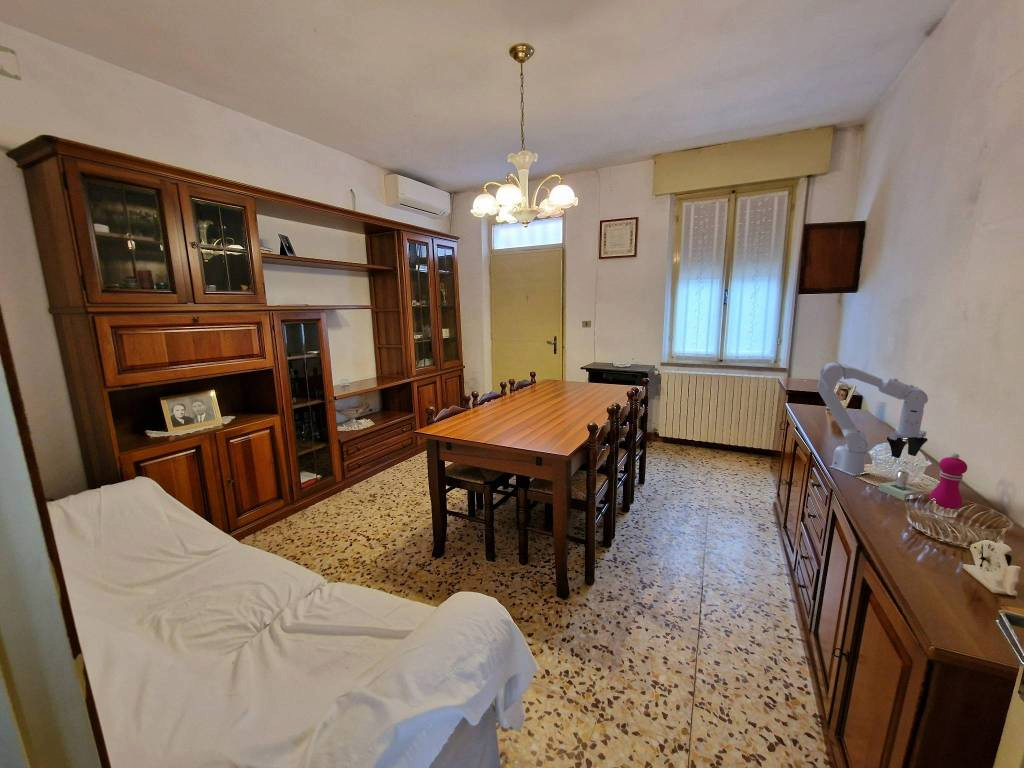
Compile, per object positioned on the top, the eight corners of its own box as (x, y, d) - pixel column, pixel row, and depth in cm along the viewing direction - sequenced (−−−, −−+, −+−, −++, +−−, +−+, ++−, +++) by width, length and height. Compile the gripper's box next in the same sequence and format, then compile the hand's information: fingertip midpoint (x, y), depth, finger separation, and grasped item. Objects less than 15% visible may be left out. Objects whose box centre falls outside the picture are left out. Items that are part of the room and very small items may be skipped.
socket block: (878, 490, 147) (879, 483, 146) (895, 487, 148) (896, 481, 148) (903, 500, 139) (905, 493, 139) (921, 497, 141) (923, 491, 140)
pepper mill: (935, 516, 129) (947, 456, 125) (921, 505, 136) (933, 448, 132) (965, 520, 127) (979, 459, 123) (950, 509, 133) (963, 450, 129)
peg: (891, 492, 145) (895, 471, 143) (897, 491, 146) (901, 470, 144) (901, 496, 142) (905, 474, 140) (906, 495, 143) (911, 473, 141)
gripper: (907, 425, 144) (900, 462, 147) (939, 422, 147) (931, 458, 150) (885, 420, 151) (879, 455, 154) (916, 417, 154) (909, 451, 157)
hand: (903, 456), depth 153 cm, fingers open, 7 cm apart
